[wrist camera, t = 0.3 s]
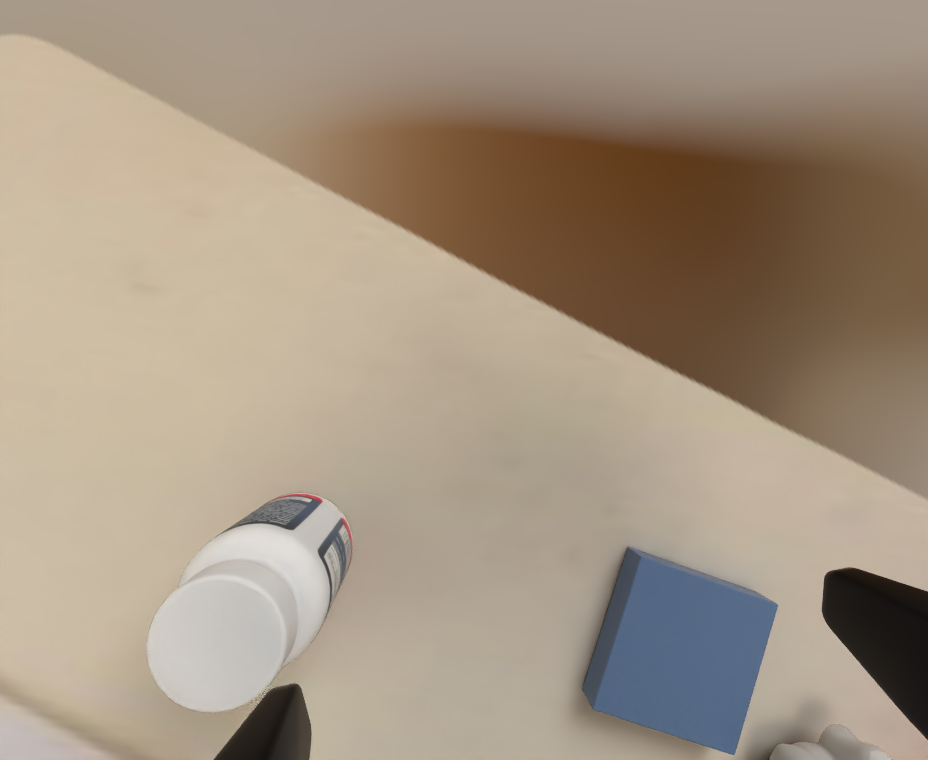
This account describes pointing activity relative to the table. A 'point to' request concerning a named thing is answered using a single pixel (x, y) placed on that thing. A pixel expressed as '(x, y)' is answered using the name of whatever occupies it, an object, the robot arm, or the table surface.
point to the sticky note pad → (679, 651)
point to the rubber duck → (830, 748)
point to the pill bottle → (249, 603)
